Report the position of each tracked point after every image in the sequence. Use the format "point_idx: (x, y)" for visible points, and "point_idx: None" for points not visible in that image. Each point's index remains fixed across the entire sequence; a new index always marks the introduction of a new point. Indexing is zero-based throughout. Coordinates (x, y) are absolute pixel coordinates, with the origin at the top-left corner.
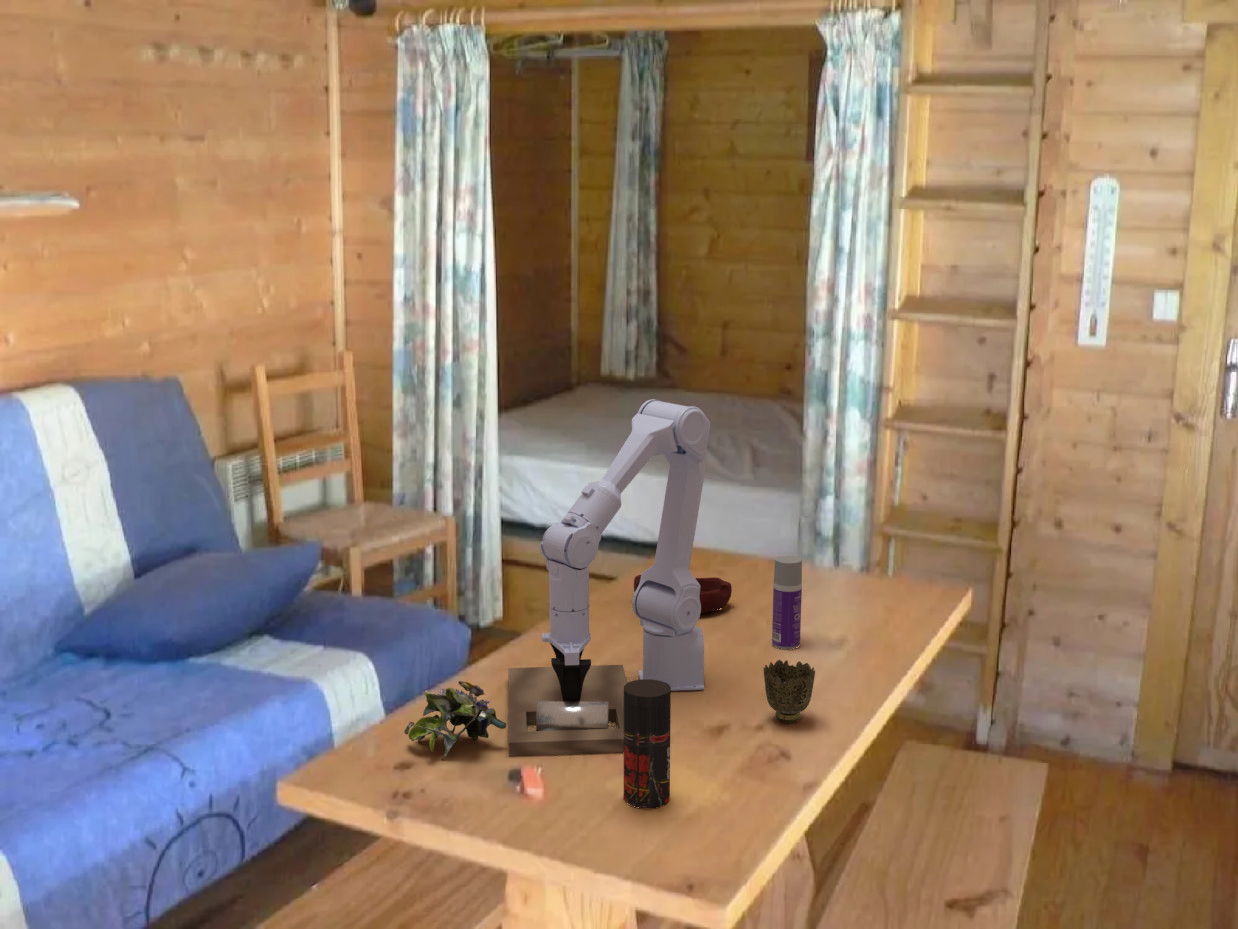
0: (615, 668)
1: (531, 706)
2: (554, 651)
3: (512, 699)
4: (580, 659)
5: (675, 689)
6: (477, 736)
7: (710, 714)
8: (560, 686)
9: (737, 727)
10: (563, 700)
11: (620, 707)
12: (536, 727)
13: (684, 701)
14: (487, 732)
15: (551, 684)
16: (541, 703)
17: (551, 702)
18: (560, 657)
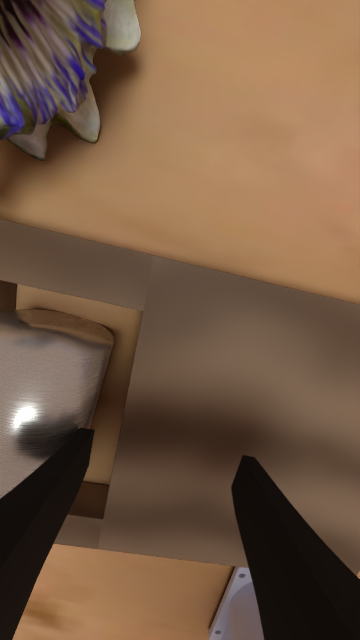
0: None
1: (177, 336)
2: (342, 623)
3: (253, 293)
4: (263, 628)
5: (221, 605)
6: (71, 130)
7: (106, 616)
8: (15, 487)
9: (43, 634)
10: (68, 439)
11: (109, 529)
12: (3, 312)
13: (174, 599)
14: (11, 141)
15: (314, 422)
16: (4, 364)
17: (12, 401)
18: (303, 585)
